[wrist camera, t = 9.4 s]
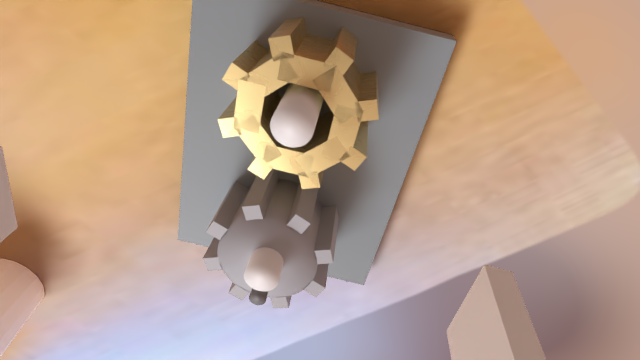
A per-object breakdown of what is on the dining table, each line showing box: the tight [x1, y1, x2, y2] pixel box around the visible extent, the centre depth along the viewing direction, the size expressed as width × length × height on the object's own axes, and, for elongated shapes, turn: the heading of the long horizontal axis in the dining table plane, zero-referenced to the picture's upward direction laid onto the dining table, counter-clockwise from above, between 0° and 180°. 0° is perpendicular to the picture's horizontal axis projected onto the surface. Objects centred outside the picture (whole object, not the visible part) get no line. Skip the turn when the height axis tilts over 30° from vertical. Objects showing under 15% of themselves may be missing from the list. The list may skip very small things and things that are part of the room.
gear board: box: [178, 0, 457, 308], centre depth 25 cm, size 18×14×8 cm
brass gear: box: [218, 17, 379, 189], centre depth 23 cm, size 8×8×4 cm
